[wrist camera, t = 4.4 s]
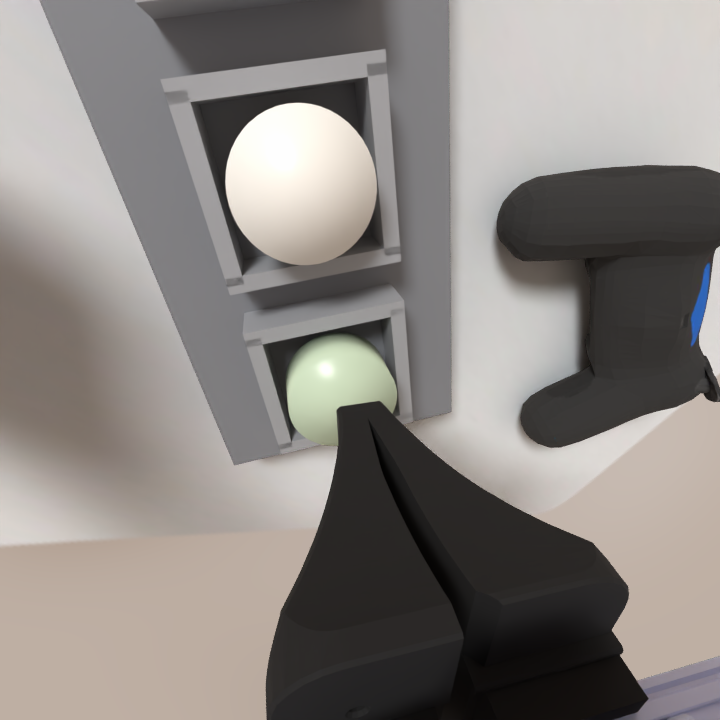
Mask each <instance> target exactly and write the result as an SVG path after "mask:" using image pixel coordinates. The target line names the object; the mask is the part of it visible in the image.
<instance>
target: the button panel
mask: <svg viewBox="0 0 720 720" xmlns="http://www.w3.org/2000/svg"><path fill="white" fill-rule="evenodd" d="M40 3H41V5H42V7H43V10H44V12H45V15H46V17H47V19H48V22H49V24H50V27H51V29H52V31H53V34H54V36H55V38H56V41H57V43H58V46H59V48H60V50H61V53H62V55H63V58H64V60H65V62H66V65H67V67H68V70H69V72H70V74H71V77H72V79H73V81H74V84H75V86H76V89H77V91H78V93H79V96H80V98H81V101H82V103H83V105H84V108H85V110H86V112H87V115H88V117H89V120H90V122H91V124H92V127H93V129H94V132H95V134H96V136H97V139H98V141H99V144H100V146H101V148H102V151H103V153H104V155H105V158H106V160H107V163H108V165H109V167H110V170H111V172H112V175H113V177H114V179H115V182H116V184H117V186H118V189H119V191H120V194H121V196H122V198H123V201H124V203H125V206H126V208H127V210H128V213H129V215H130V218H131V220H132V222H133V225H134V227H135V229H136V232H137V234H138V237H139V239H140V241H141V244H142V246H143V249H144V251H145V253H146V256H147V258H148V260H149V263H150V265H151V268H152V270H153V272H154V275H155V277H156V280H157V282H158V284H159V287H160V289H161V292H162V294H163V296H164V299H165V301H166V303H167V306H168V308H169V311H170V313H171V315H172V318H173V320H174V323H175V325H176V327H177V330H178V332H179V334H180V337H181V339H182V342H183V344H184V346H185V349H186V351H187V354H188V356H189V358H190V361H191V363H192V366H193V368H194V370H195V373H196V375H197V377H198V380H199V382H200V385H201V387H202V389H203V392H204V394H205V397H206V399H207V401H208V404H209V406H210V408H211V411H212V413H213V416H214V418H215V420H216V423H217V425H218V428H219V430H220V432H221V435H222V437H223V440H224V442H225V444H226V447H227V449H228V451H229V454H230V456H231V459H232V461H233V463H234V465H238V464H242V463H246V462H250V461H254V460H259V459H263V458H267V457H271V456H275V455H279V454H286V453H290V452H294V451H298V450H302V449H306V448H310V447H314V446H318V445H322V444H318V443H315V442H313V441H311V440H309V439H307V438H305V437H304V436H302V435H301V434H300V433H299V432H298V431H297V430H296V428H295V427H294V425H293V424H292V422H291V419H290V416H289V410H288V400H287V391H286V371H287V367H288V365H289V362H290V360H291V359H292V357H293V355H294V354H295V353H296V352H297V351H298V350H299V349H300V348H301V347H302V346H303V345H304V344H306V343H307V342H308V341H310V340H312V339H314V338H316V337H319V336H321V335H325V334H329V333H338V332H343V333H351V334H355V335H358V336H361V337H363V338H365V339H367V340H368V341H369V342H371V343H372V344H373V345H374V346H375V347H376V348H377V350H378V351H379V353H380V354H381V356H382V358H383V360H384V362H385V364H386V366H387V368H388V370H389V372H390V374H391V376H392V377H393V379H394V382H395V384H396V389H397V402H396V406H395V409H394V411H393V415H394V416H395V417H396V418H397V419H398V420H399V421H400V422H401V423H402V424H407V423H411V422H413V421H416V420H421V419H425V418H429V417H433V416H437V415H441V414H445V413H449V412H451V294H450V143H449V0H40ZM287 103H307V104H313V105H317V106H321V107H323V108H326V109H328V110H330V111H332V112H334V113H336V114H337V115H339V116H340V117H342V118H343V119H344V120H345V121H347V122H348V123H349V124H350V125H351V126H352V127H353V128H354V129H355V130H356V131H357V133H358V134H359V135H360V137H361V138H362V139H363V141H364V143H365V145H366V146H367V148H368V150H369V153H370V155H371V157H372V160H373V164H374V168H375V173H376V180H377V194H376V202H375V207H374V211H373V214H372V217H371V220H370V222H369V224H368V226H367V228H366V230H365V231H364V233H363V234H362V236H361V237H360V238H359V240H358V241H357V242H356V243H355V244H354V245H353V246H352V247H351V248H350V249H349V250H347V251H346V252H344V253H343V254H342V255H340V256H338V257H336V258H334V259H332V260H329V261H327V262H323V263H320V264H314V265H295V264H289V263H285V262H282V261H279V260H277V259H274V258H272V257H270V256H268V255H267V254H265V253H263V252H262V251H261V250H259V249H258V248H257V247H255V246H254V245H253V244H252V243H251V242H250V241H249V240H248V239H247V237H246V236H245V235H244V234H243V233H242V231H241V230H240V228H239V227H238V225H237V223H236V221H235V219H234V217H233V215H232V212H231V210H230V207H229V204H228V199H227V195H226V185H225V179H226V167H227V161H228V158H229V155H230V151H231V149H232V147H233V145H234V142H235V140H236V139H237V137H238V136H239V134H240V133H241V131H242V130H243V129H244V128H245V126H246V125H247V124H248V123H249V122H250V121H251V120H253V119H254V118H255V117H256V116H258V115H259V114H261V113H263V112H264V111H266V110H268V109H270V108H273V107H275V106H279V105H283V104H287Z"/></svg>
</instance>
